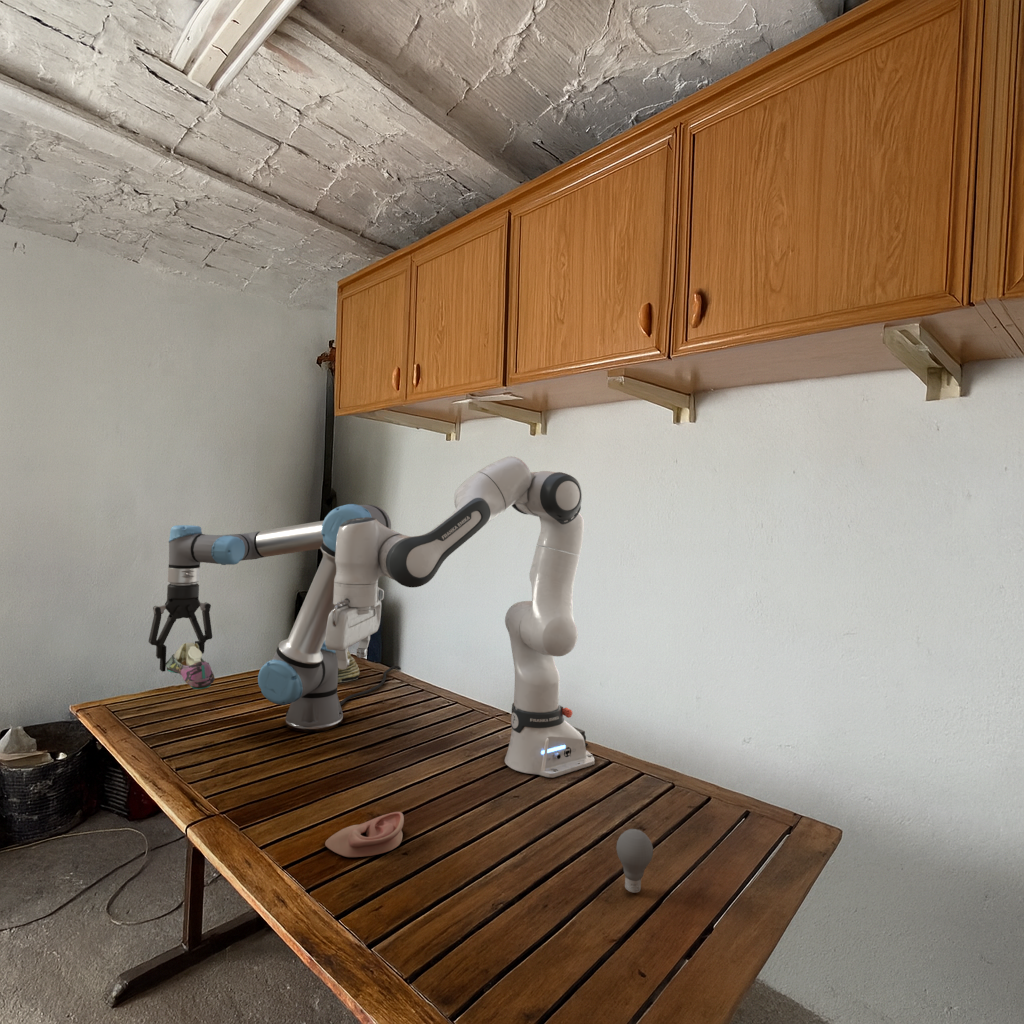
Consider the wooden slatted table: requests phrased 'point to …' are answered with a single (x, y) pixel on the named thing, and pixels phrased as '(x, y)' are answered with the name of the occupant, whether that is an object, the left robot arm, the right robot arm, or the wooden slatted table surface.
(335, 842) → the anatomical model
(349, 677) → the fossil
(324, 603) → the left robot arm
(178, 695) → the wooden slatted table surface
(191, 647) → the ballet flat
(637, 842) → the light bulb
